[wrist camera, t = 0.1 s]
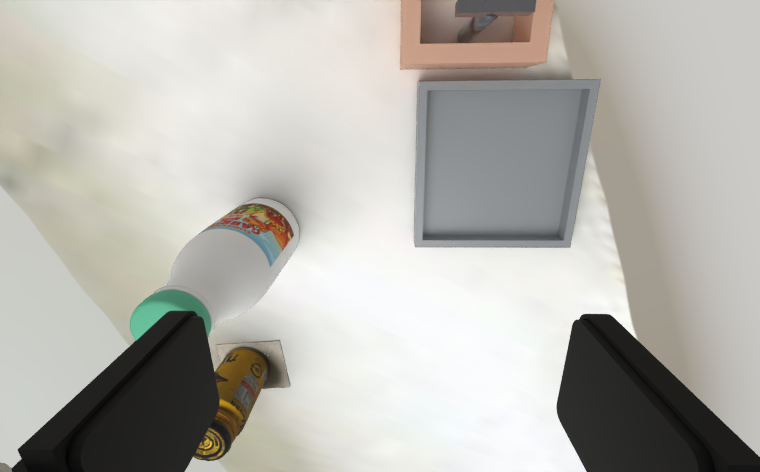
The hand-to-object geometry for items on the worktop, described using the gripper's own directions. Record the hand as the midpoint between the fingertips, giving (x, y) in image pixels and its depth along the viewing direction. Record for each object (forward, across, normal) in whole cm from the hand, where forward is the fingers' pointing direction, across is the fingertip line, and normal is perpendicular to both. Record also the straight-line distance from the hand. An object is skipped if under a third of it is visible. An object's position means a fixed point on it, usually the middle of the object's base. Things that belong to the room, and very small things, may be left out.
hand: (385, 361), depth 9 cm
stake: (+31, -7, -12) cm, 34 cm away
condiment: (+31, +18, +26) cm, 45 cm away
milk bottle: (+31, +14, +7) cm, 35 cm away
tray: (+31, -11, 0) cm, 33 cm away
